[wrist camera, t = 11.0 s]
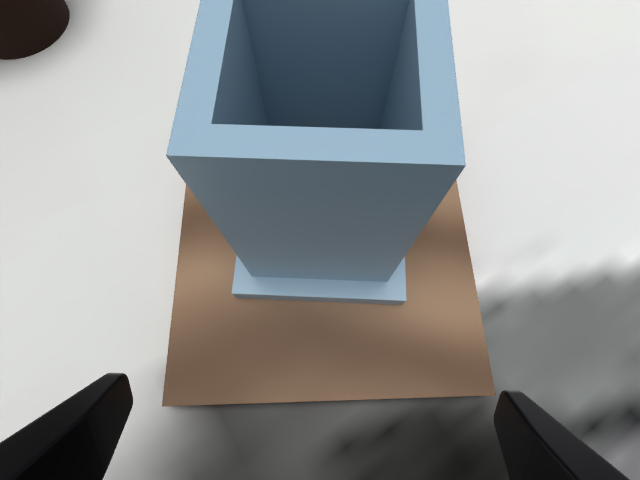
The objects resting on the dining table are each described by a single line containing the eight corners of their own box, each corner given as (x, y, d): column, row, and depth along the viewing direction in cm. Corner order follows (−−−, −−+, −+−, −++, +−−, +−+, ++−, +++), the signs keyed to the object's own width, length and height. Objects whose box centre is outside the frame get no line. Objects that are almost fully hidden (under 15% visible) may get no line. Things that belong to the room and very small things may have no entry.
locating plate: (483, 394, 17) (533, 399, 13) (173, 404, 17) (126, 412, 13) (434, 106, 22) (458, 48, 18) (201, 113, 22) (175, 57, 18)
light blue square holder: (401, 304, 17) (512, 203, 7) (236, 298, 17) (117, 189, 7) (397, 161, 19) (471, -59, 10) (254, 157, 20) (185, -64, 10)
